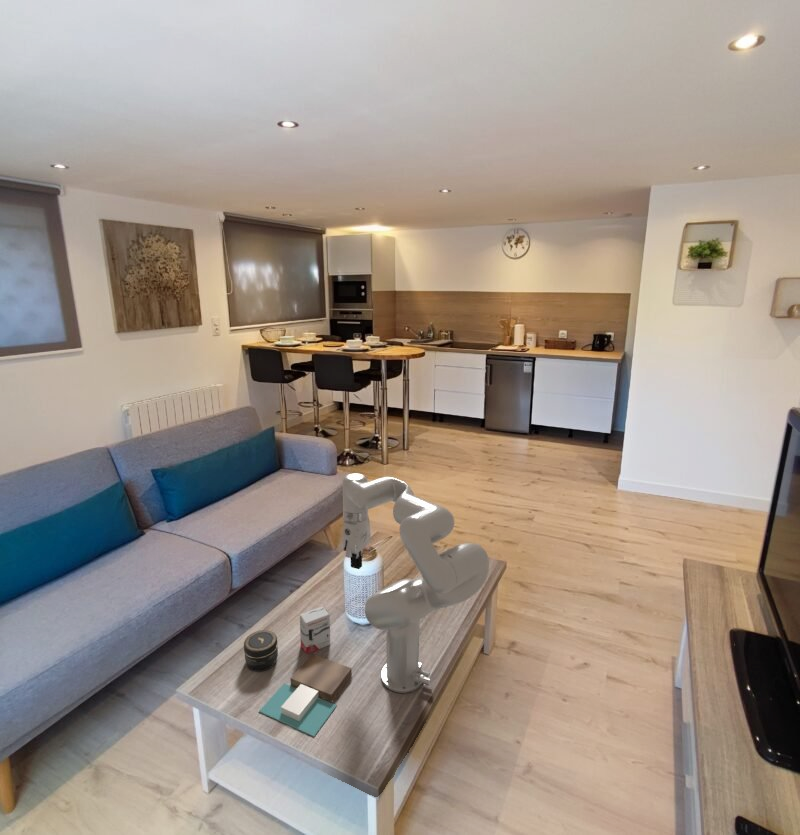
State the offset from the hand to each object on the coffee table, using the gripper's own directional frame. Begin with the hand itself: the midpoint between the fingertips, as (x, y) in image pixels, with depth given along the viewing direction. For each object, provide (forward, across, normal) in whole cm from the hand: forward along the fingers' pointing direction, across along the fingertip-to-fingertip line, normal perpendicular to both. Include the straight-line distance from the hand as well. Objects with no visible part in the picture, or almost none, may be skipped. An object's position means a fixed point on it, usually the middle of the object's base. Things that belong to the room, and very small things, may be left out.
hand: (356, 566), depth 155 cm
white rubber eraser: (+27, -30, +1) cm, 40 cm away
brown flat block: (+27, -20, +1) cm, 33 cm away
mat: (+27, -31, +1) cm, 41 cm away
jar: (+27, -21, +22) cm, 41 cm away
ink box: (+27, -8, +11) cm, 31 cm away
